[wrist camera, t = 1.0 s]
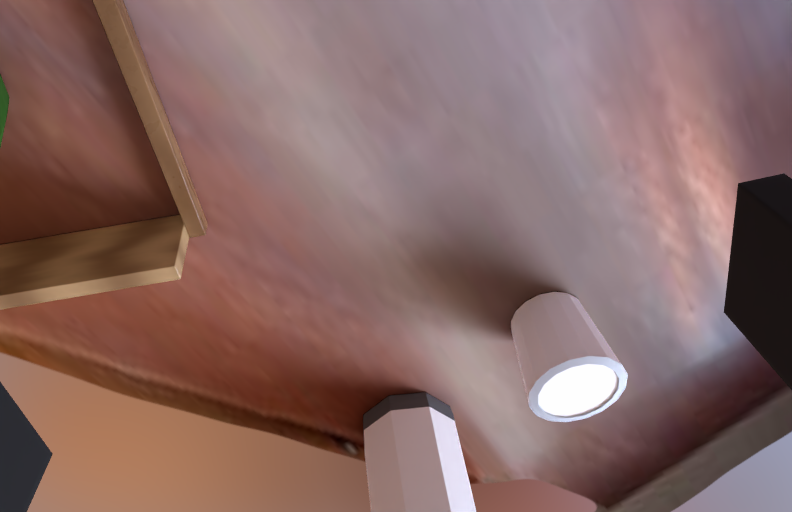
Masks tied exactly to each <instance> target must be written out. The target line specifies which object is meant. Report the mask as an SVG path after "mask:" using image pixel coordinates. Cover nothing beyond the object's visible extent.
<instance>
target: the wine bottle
mask: <svg viewBox="0 0 792 512" xmlns="http://www.w3.org/2000/svg"><path fill="white" fill-rule="evenodd" d="M363 430H364V449H365V460H366V469H367V479H368V489H369V498H370V508H371V512H476V508H475V504H474V500H473V496H472V491H471V487H470V483H469V479H468V475H467V471H466V466H465V462H464V458H463V454H462V450H461V445H460V441H459V437H458V433H457V429H456V425H455V420H454V417H453V413H452V411H451V408H450V406H449V405H447V404H445V403H443V402H442V401H440V400H438V399H436V398H435V397H433V396H431V395H429V394H428V393H426V392H423V393H413V394H403V395H393V396H388V397H387V398H385V399H384V400H383V401H381V402H380V403H379V404H377V405H376V406H375V407H373V408H372V409H371V410H369V411H368V412H367V413H365V414H364V415H363Z"/></svg>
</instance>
